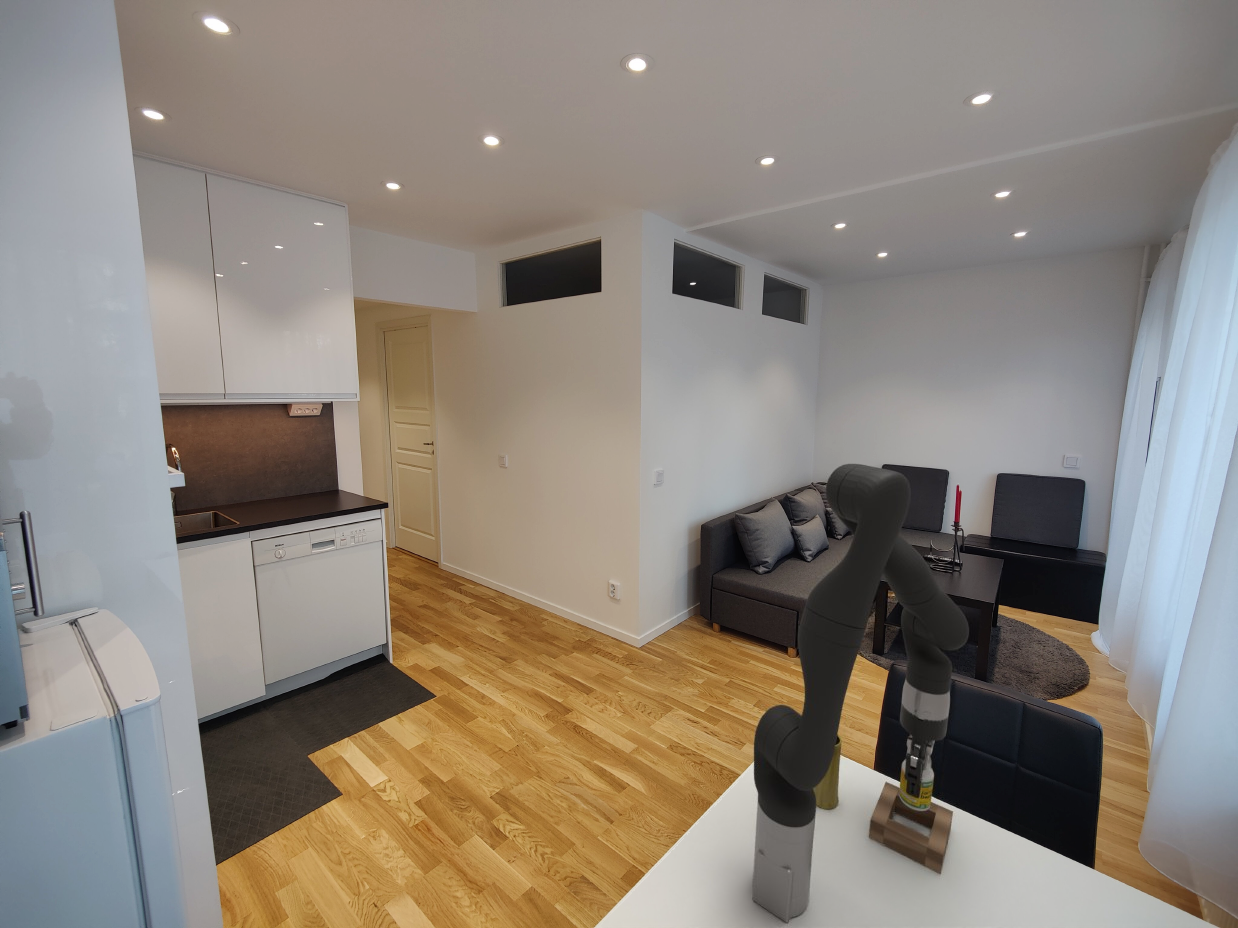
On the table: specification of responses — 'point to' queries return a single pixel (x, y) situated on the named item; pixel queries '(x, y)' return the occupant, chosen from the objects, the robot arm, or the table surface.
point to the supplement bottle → (925, 793)
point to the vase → (830, 782)
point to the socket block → (906, 838)
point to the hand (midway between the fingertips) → (915, 784)
